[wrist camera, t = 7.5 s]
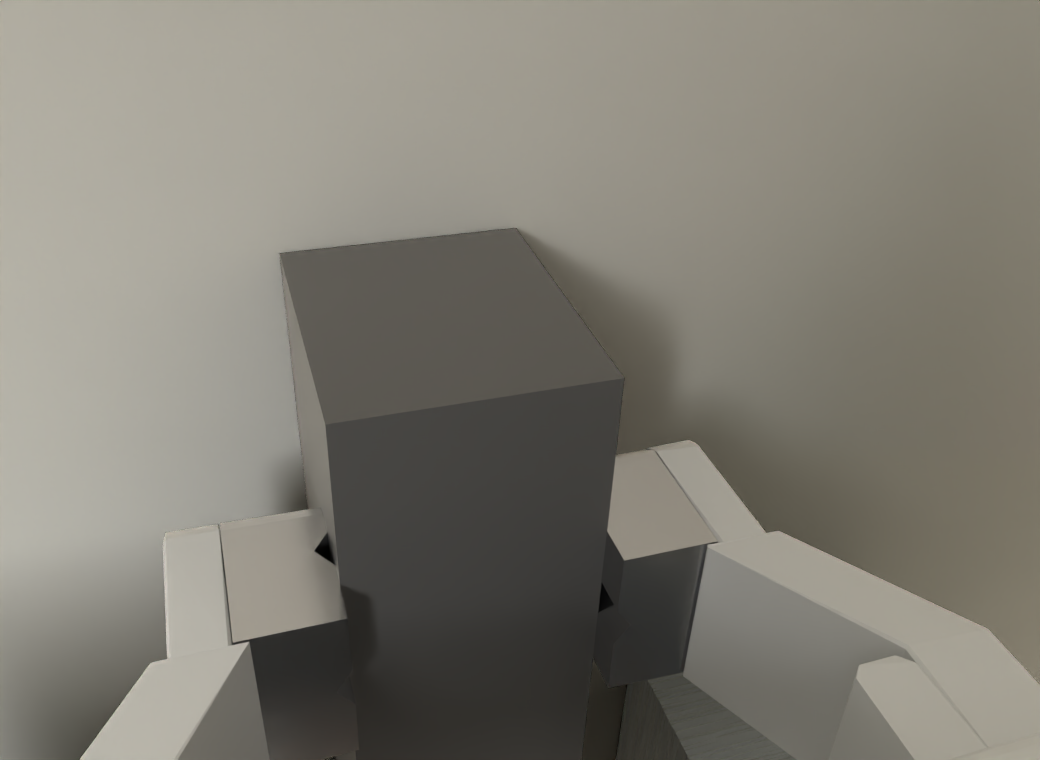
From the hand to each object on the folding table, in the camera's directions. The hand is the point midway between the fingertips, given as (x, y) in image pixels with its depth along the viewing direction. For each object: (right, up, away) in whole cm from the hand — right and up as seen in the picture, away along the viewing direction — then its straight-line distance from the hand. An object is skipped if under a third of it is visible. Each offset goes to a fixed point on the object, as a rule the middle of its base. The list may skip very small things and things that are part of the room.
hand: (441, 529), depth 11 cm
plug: (-1, -4, +5) cm, 6 cm away
